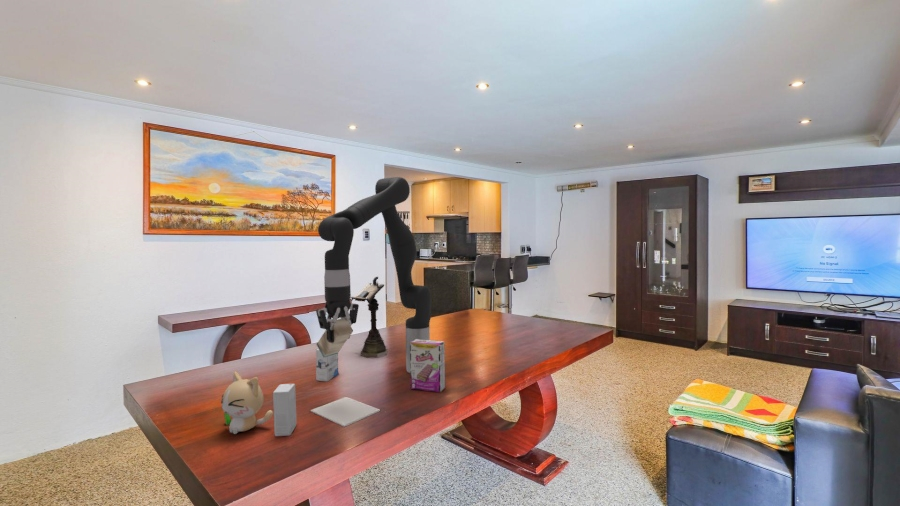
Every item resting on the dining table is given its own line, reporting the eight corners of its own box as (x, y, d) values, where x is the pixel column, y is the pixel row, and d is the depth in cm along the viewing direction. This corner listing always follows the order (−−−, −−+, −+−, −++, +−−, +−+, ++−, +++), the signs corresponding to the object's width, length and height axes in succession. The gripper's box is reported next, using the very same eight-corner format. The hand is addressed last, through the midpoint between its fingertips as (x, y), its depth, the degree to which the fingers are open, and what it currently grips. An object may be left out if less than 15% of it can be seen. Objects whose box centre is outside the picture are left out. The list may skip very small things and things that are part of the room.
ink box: (327, 373, 159) (326, 343, 159) (339, 373, 158) (338, 343, 158) (315, 380, 151) (314, 349, 150) (328, 381, 150) (327, 349, 149)
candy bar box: (410, 389, 141) (409, 342, 140) (415, 384, 146) (415, 338, 145) (440, 393, 137) (439, 344, 137) (445, 387, 142) (445, 340, 142)
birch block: (316, 344, 128) (331, 320, 122) (330, 341, 132) (345, 317, 126) (323, 357, 126) (339, 334, 120) (337, 353, 130) (353, 330, 124)
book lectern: (364, 362, 172) (362, 278, 170) (346, 356, 180) (344, 277, 179) (395, 353, 184) (393, 275, 183) (376, 348, 193) (375, 274, 191)
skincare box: (281, 426, 115) (279, 383, 114) (296, 425, 115) (295, 383, 115) (273, 436, 109) (272, 392, 108) (290, 435, 109) (289, 391, 109)
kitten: (209, 429, 113) (207, 376, 113) (243, 416, 122) (242, 365, 121) (241, 443, 106) (239, 385, 105) (275, 427, 114) (274, 374, 113)
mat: (310, 411, 124) (310, 410, 124) (346, 398, 134) (346, 396, 134) (344, 426, 114) (344, 425, 114) (380, 411, 124) (380, 409, 124)
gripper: (324, 287, 116) (325, 347, 117) (364, 282, 127) (365, 337, 128) (309, 286, 121) (310, 343, 122) (349, 281, 132) (350, 334, 133)
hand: (339, 340), depth 125 cm, fingers closed on birch block, 5 cm apart
